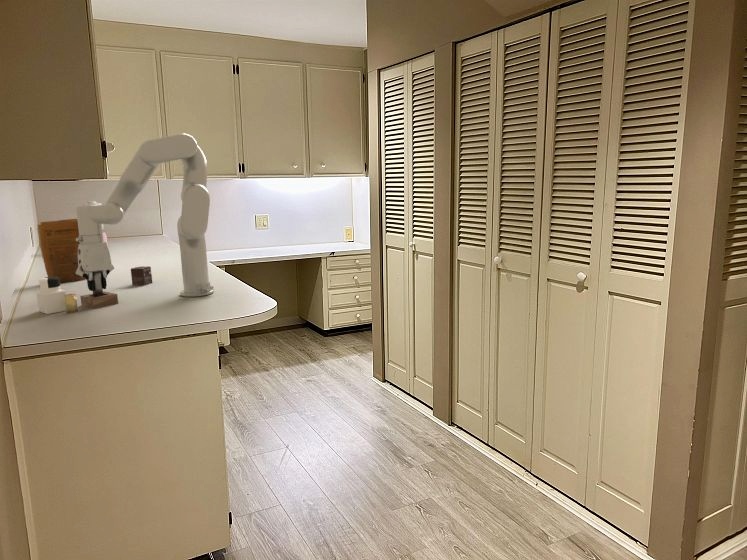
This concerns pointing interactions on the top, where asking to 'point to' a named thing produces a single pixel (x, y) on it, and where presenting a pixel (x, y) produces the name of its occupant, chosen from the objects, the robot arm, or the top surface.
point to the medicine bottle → (51, 296)
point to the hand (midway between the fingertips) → (97, 289)
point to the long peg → (97, 284)
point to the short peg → (71, 303)
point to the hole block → (99, 300)
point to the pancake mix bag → (60, 249)
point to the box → (141, 275)
